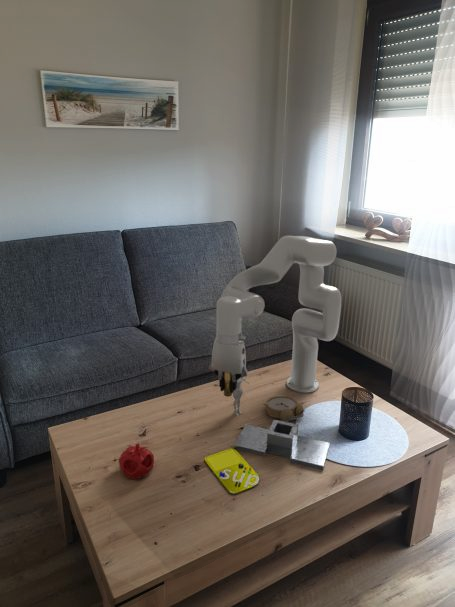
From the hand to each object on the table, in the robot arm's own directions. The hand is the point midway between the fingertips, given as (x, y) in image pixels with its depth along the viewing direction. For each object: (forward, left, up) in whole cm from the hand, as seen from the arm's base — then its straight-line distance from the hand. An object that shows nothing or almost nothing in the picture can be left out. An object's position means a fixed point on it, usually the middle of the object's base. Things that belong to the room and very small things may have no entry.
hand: (227, 389), depth 153 cm
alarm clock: (-20, +15, -17) cm, 30 cm away
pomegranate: (+26, -19, -17) cm, 36 cm away
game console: (+16, +7, -18) cm, 25 cm away
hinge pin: (0, 0, -2) cm, 2 cm away
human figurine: (-14, -2, -17) cm, 22 cm away
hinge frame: (0, +18, -17) cm, 25 cm away
